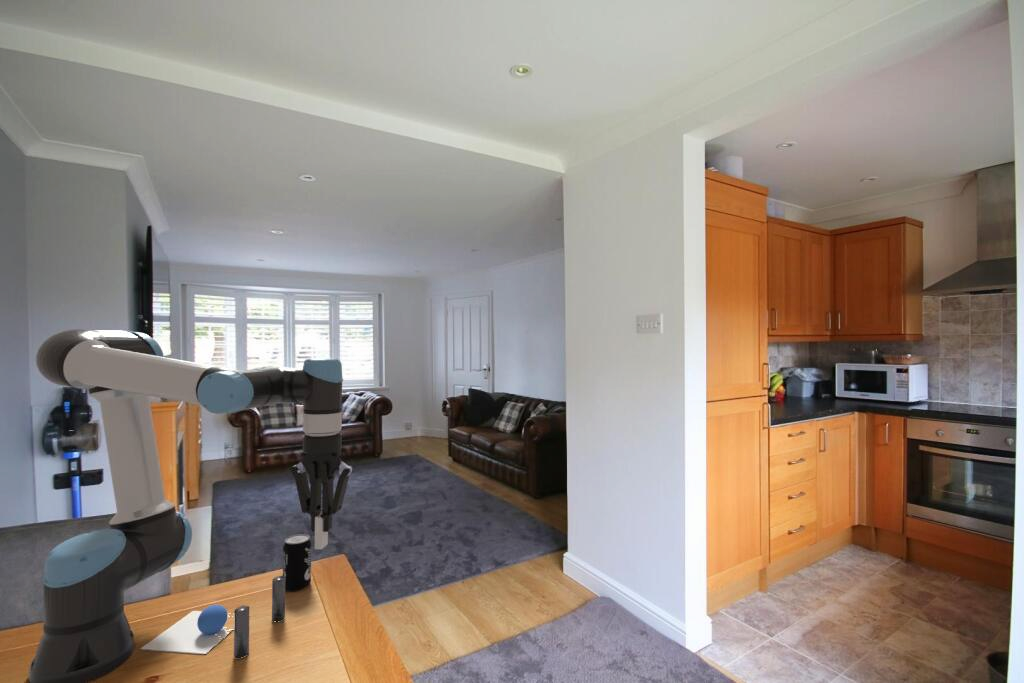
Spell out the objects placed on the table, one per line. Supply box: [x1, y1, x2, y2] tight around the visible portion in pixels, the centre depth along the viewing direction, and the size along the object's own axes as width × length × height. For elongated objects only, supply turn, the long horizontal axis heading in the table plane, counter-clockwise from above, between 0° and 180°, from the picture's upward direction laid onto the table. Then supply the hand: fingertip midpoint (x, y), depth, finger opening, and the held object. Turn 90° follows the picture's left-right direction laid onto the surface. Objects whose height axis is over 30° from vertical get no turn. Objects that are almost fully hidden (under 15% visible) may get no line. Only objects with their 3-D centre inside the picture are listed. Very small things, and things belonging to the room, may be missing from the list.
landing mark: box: [140, 610, 234, 655], centre depth 104 cm, size 14×14×1 cm
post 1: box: [233, 605, 250, 659], centre depth 96 cm, size 3×3×9 cm
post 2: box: [271, 575, 286, 623], centre depth 109 cm, size 3×3×9 cm
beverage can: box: [282, 533, 312, 592], centre depth 124 cm, size 7×7×12 cm
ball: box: [197, 604, 228, 634], centre depth 104 cm, size 6×6×6 cm
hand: (321, 546), depth 101 cm, fingers closed
